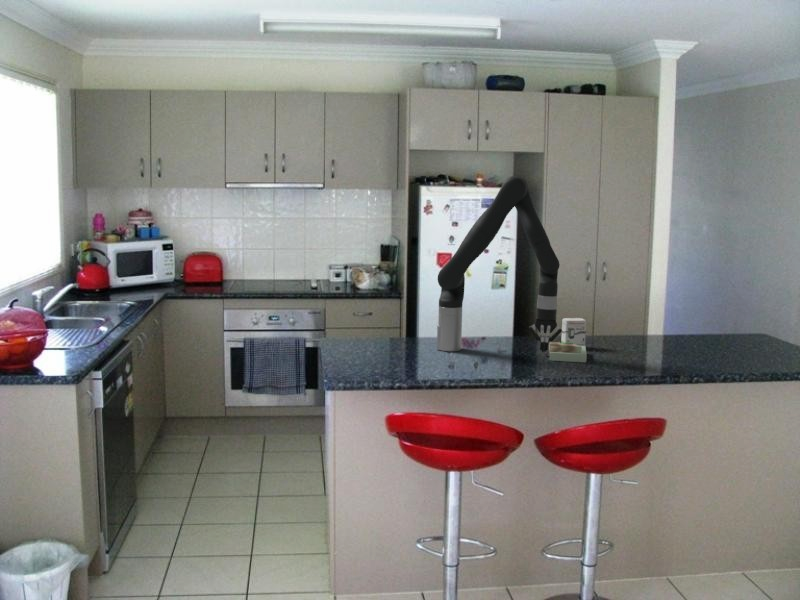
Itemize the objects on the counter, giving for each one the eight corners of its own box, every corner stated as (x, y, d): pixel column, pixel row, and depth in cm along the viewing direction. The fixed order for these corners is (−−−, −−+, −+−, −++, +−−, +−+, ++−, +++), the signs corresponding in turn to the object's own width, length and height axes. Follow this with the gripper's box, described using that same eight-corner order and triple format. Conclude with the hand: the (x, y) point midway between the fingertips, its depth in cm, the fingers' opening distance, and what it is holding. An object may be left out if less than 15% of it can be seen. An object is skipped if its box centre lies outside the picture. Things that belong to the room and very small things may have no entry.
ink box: (564, 349, 340) (566, 320, 338) (560, 346, 345) (561, 318, 343) (585, 348, 341) (586, 320, 339) (580, 346, 346) (582, 317, 344)
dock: (549, 360, 319) (549, 352, 319) (549, 351, 335) (550, 344, 334) (586, 362, 317) (586, 354, 316) (585, 353, 332) (585, 346, 332)
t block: (550, 358, 322) (551, 347, 321) (548, 353, 332) (549, 341, 331) (577, 359, 321) (578, 348, 320) (575, 354, 331) (575, 342, 330)
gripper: (528, 307, 322) (526, 352, 325) (564, 309, 320) (561, 354, 322) (529, 304, 329) (526, 348, 332) (564, 306, 327) (561, 350, 330)
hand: (543, 351), depth 327 cm, fingers closed
